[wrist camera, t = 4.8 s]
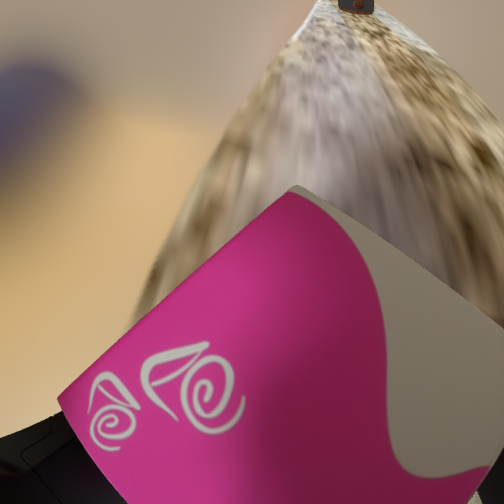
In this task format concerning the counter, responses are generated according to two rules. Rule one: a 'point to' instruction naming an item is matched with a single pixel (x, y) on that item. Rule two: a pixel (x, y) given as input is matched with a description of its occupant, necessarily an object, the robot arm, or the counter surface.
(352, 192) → the counter surface
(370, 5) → the banded dark cylinder
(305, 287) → the supplement box
